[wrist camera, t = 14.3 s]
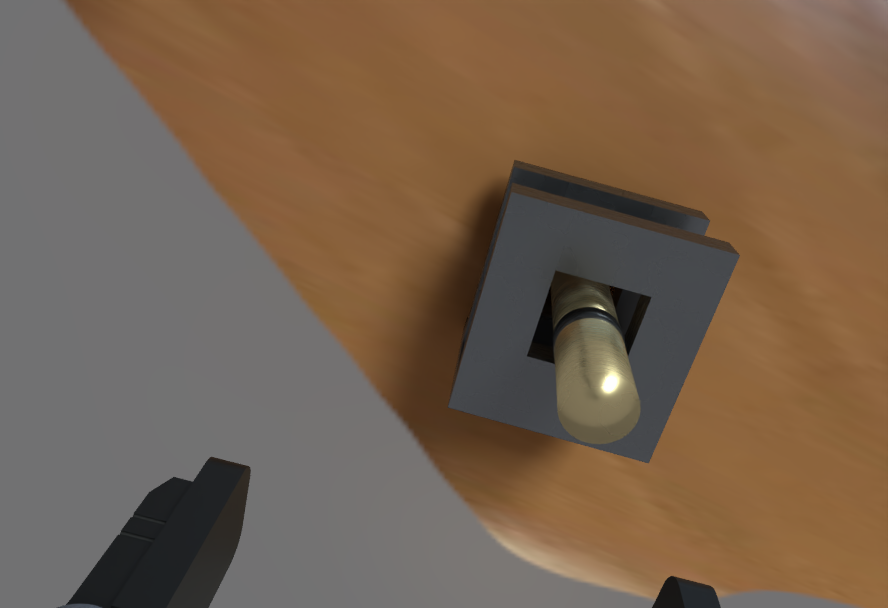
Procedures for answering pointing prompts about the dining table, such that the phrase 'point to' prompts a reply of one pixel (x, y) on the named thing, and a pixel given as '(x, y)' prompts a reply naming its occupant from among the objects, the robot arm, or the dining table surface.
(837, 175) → the dining table surface
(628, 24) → the dining table surface
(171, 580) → the robot arm
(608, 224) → the collar stand
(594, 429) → the brass tube
